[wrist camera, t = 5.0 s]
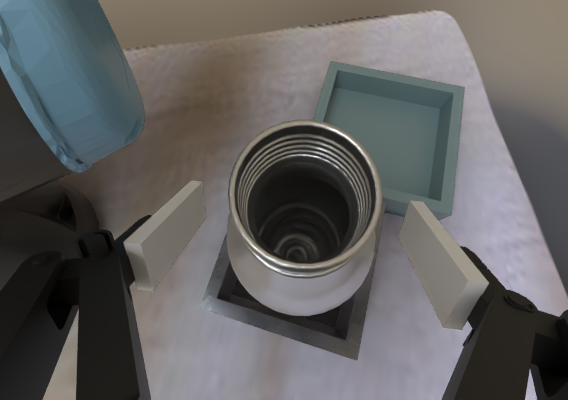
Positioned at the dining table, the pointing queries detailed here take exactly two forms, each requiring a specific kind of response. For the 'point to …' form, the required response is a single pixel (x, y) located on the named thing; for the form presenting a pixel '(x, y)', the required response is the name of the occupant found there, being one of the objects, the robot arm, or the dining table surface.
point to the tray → (399, 131)
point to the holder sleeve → (295, 327)
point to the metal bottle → (303, 216)
